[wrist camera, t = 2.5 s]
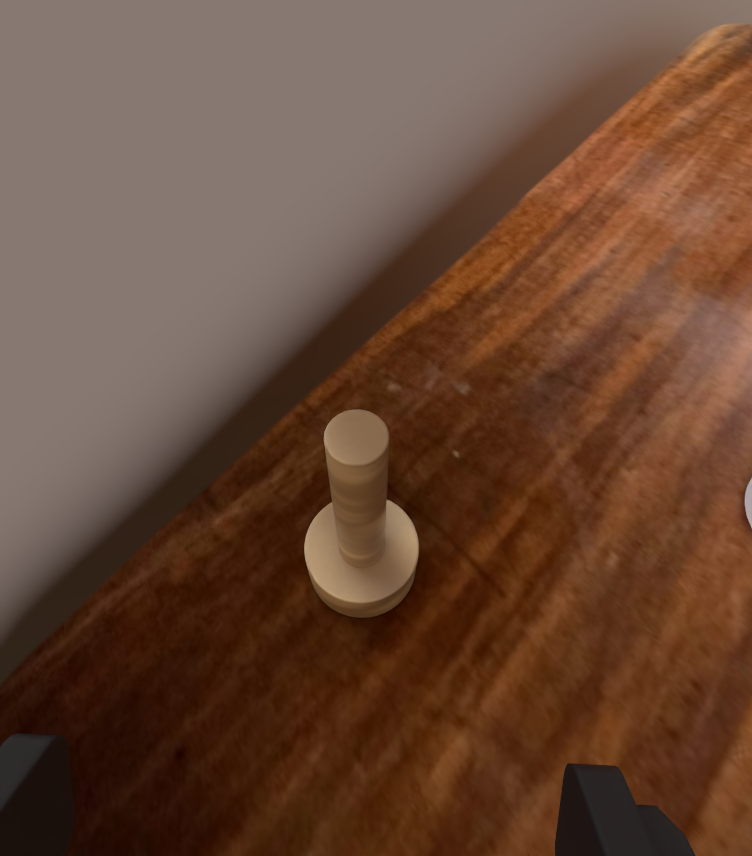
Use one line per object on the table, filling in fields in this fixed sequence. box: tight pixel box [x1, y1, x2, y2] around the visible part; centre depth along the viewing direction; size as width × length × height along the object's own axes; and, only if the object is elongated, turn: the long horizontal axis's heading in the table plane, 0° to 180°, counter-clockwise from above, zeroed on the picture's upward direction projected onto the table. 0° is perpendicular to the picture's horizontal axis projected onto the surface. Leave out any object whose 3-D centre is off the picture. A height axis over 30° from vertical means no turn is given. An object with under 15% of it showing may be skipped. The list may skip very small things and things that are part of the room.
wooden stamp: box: [304, 410, 419, 618], centre depth 24 cm, size 5×5×12 cm
